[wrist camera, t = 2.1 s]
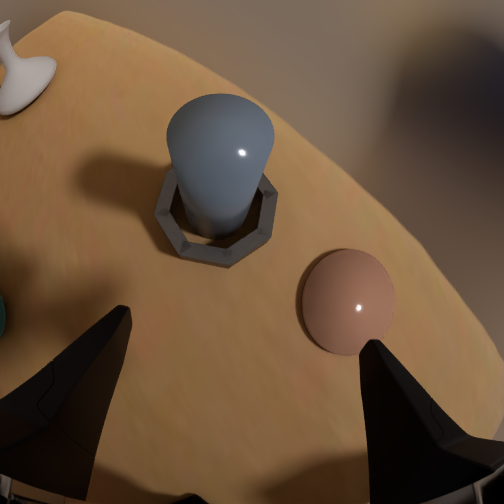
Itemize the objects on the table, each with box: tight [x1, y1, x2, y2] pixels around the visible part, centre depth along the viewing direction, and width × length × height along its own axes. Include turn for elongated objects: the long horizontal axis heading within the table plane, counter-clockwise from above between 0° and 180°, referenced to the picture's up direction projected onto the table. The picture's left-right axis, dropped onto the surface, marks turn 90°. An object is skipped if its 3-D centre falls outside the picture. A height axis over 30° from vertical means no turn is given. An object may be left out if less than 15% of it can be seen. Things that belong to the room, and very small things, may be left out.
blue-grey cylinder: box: [167, 94, 274, 240], centre depth 18 cm, size 5×5×12 cm
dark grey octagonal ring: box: [154, 168, 278, 268], centre depth 23 cm, size 10×10×2 cm
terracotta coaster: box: [301, 249, 395, 356], centre depth 24 cm, size 10×10×1 cm
